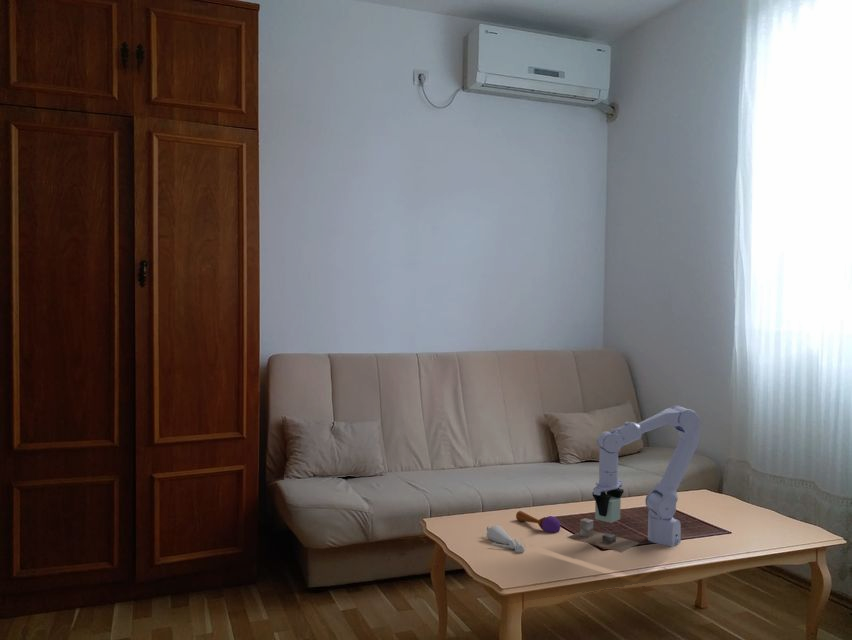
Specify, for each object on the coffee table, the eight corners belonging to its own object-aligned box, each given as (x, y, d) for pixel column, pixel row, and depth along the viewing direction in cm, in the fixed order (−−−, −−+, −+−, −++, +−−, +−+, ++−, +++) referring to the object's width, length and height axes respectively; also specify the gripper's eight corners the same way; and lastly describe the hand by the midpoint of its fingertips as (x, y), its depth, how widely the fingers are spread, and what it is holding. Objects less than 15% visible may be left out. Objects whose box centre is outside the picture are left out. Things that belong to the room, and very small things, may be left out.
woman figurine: (505, 520, 231) (538, 540, 215) (504, 533, 231) (537, 554, 216) (475, 525, 226) (507, 546, 210) (474, 538, 226) (506, 560, 210)
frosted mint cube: (620, 519, 221) (620, 498, 221) (611, 522, 217) (611, 502, 217) (604, 515, 225) (604, 495, 224) (595, 518, 221) (595, 498, 220)
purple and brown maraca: (527, 507, 248) (565, 518, 230) (525, 524, 247) (563, 537, 229) (514, 506, 245) (551, 517, 227) (511, 524, 244) (548, 536, 227)
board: (640, 546, 220) (640, 527, 219) (621, 556, 211) (621, 535, 211) (587, 532, 233) (587, 513, 233) (567, 540, 224) (567, 521, 224)
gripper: (608, 464, 228) (608, 506, 229) (585, 472, 218) (584, 515, 218) (628, 468, 223) (628, 510, 224) (605, 476, 213) (604, 520, 213)
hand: (607, 513), depth 221 cm, fingers closed on frosted mint cube, 6 cm apart
